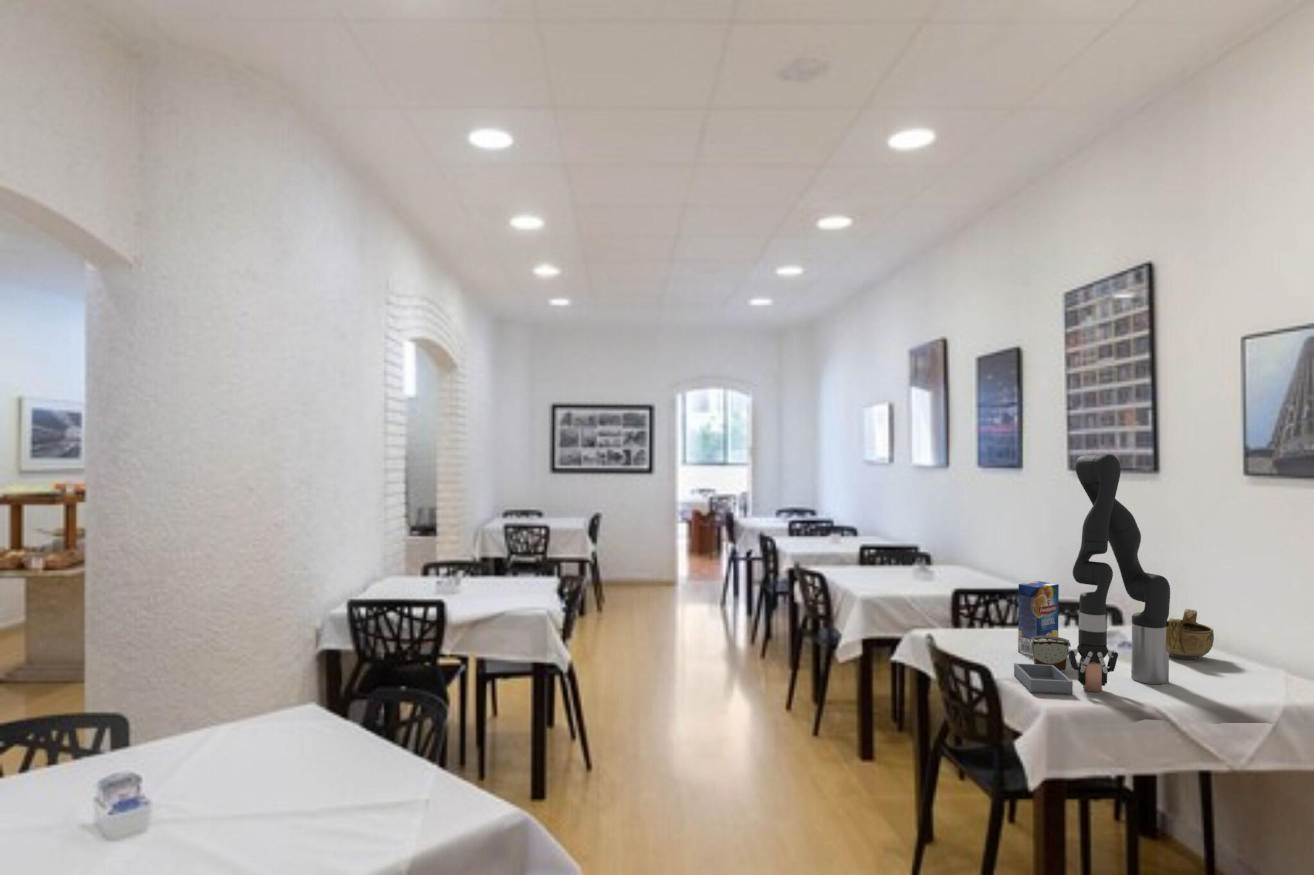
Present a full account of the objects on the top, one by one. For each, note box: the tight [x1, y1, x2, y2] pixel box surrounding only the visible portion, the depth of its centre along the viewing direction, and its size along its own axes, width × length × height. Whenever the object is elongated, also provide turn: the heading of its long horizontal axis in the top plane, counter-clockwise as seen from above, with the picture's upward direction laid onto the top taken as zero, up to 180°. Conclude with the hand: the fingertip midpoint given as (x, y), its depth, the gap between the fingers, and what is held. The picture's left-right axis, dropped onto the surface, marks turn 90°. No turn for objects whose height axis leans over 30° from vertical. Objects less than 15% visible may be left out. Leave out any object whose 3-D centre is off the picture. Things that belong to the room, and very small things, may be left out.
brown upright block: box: [1082, 661, 1103, 693], centre depth 244 cm, size 5×5×8 cm
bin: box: [1013, 662, 1074, 696], centre depth 248 cm, size 12×18×4 cm, turn 171°
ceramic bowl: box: [1166, 608, 1215, 660], centre depth 281 cm, size 22×17×15 cm
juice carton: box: [1017, 580, 1060, 657], centre depth 286 cm, size 12×8×24 cm, turn 121°
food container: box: [1030, 636, 1072, 672], centre depth 267 cm, size 12×6×10 cm, turn 84°
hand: (1092, 684), depth 244 cm, fingers closed on brown upright block, 5 cm apart
